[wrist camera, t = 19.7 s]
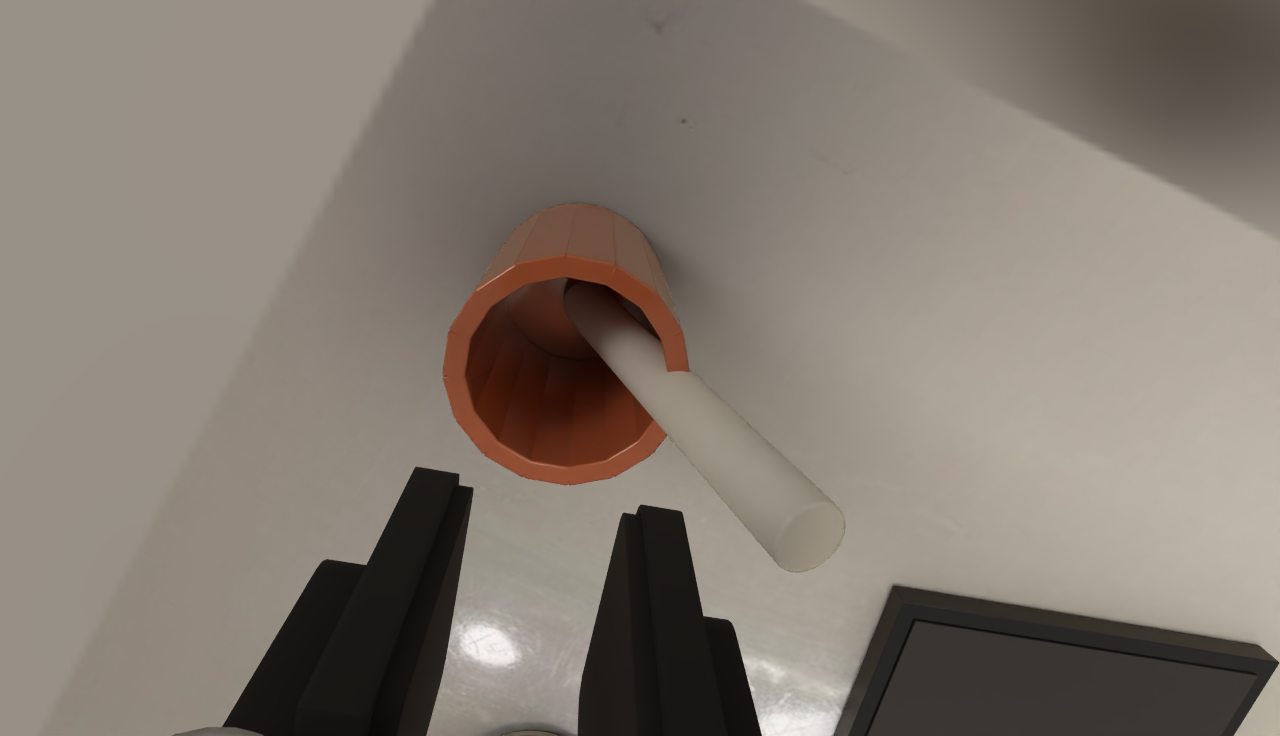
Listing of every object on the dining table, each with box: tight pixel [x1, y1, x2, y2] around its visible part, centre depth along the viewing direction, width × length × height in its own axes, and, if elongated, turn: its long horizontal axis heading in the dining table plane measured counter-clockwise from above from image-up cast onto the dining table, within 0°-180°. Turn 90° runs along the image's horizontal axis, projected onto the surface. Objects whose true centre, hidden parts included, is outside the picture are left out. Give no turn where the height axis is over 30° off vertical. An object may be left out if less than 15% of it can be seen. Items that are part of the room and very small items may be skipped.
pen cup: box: [443, 203, 690, 485], centre depth 20 cm, size 5×5×8 cm
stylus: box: [563, 281, 845, 572], centre depth 18 cm, size 1×1×13 cm
